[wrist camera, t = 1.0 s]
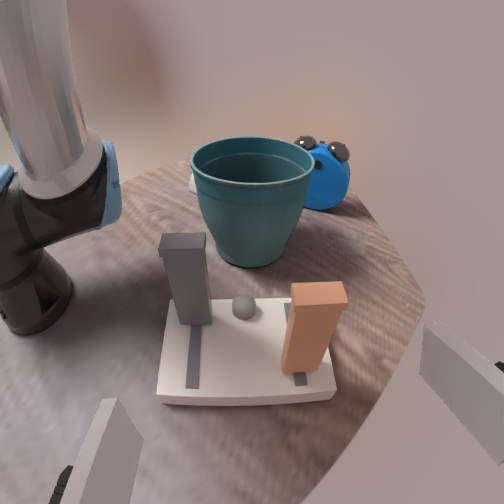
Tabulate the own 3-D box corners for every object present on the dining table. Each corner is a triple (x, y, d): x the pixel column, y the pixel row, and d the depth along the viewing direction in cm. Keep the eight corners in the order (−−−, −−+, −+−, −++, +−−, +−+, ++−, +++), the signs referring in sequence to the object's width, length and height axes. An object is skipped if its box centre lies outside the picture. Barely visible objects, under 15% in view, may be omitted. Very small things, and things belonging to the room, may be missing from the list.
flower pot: (243, 206, 63) (243, 128, 52) (319, 239, 55) (334, 154, 44) (178, 250, 52) (164, 161, 41) (262, 300, 44) (268, 199, 33)
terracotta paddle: (278, 356, 33) (291, 282, 25) (316, 354, 33) (341, 281, 25) (280, 375, 31) (295, 305, 23) (319, 372, 32) (348, 302, 23)
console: (174, 312, 42) (168, 292, 39) (313, 310, 43) (318, 289, 40) (162, 403, 31) (152, 389, 28) (330, 399, 32) (340, 384, 29)
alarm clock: (344, 203, 65) (356, 141, 55) (341, 218, 61) (354, 151, 51) (288, 190, 68) (293, 129, 58) (281, 203, 64) (286, 137, 54)
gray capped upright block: (180, 310, 38) (162, 233, 30) (214, 310, 38) (205, 232, 30) (178, 325, 36) (158, 249, 28) (213, 325, 36) (203, 248, 28)
